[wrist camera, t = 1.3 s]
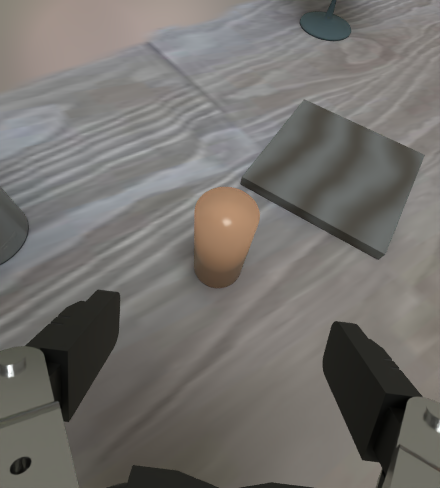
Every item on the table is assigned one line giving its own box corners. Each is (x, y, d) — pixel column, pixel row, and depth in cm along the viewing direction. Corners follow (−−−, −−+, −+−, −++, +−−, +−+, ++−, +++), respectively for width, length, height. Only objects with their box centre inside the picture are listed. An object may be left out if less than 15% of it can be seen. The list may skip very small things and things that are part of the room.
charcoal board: (240, 184, 41) (242, 176, 39) (301, 107, 49) (304, 99, 48) (378, 259, 37) (385, 254, 35) (418, 162, 45) (424, 155, 44)
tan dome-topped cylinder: (184, 271, 34) (181, 219, 24) (210, 237, 36) (217, 177, 27) (225, 297, 33) (238, 253, 23) (249, 260, 35) (271, 206, 26)
